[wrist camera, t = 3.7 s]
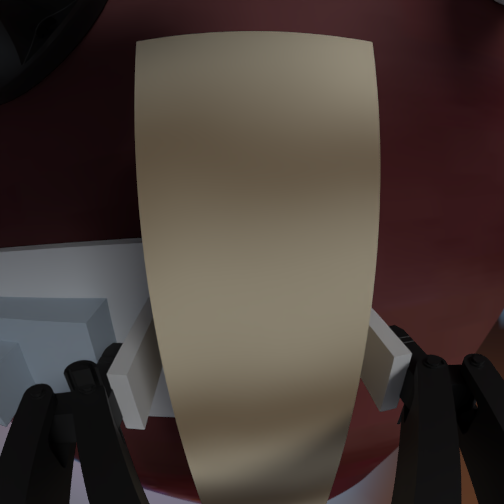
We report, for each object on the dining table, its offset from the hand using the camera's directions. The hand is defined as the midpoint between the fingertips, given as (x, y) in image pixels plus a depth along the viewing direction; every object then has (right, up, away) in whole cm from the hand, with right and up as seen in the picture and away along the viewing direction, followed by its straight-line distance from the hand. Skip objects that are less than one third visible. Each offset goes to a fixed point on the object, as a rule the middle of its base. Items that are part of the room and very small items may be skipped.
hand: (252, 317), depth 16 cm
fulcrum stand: (-15, -2, +2) cm, 15 cm away
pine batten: (0, 0, -1) cm, 1 cm away
